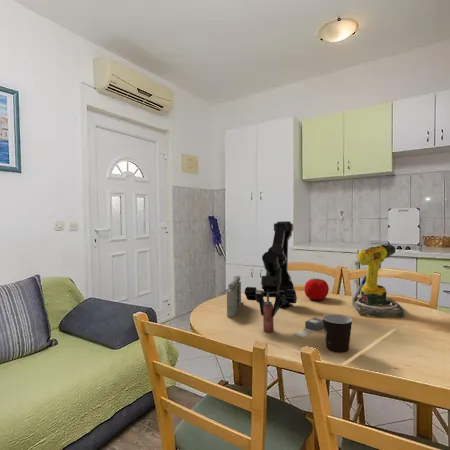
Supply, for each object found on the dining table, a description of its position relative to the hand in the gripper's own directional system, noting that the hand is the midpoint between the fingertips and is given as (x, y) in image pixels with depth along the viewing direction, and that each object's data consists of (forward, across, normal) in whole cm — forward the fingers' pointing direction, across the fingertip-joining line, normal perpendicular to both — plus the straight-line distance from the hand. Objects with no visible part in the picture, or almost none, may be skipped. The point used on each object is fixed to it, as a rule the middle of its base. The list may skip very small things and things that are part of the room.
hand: (267, 315), depth 112 cm
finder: (-2, +16, +11) cm, 19 cm away
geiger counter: (-13, -21, +23) cm, 34 cm away
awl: (+4, 0, +6) cm, 7 cm away
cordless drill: (-23, +40, +33) cm, 57 cm away
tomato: (-31, +14, +40) cm, 53 cm away
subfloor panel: (-1, +9, +10) cm, 14 cm away
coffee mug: (+8, +24, +1) cm, 25 cm away
